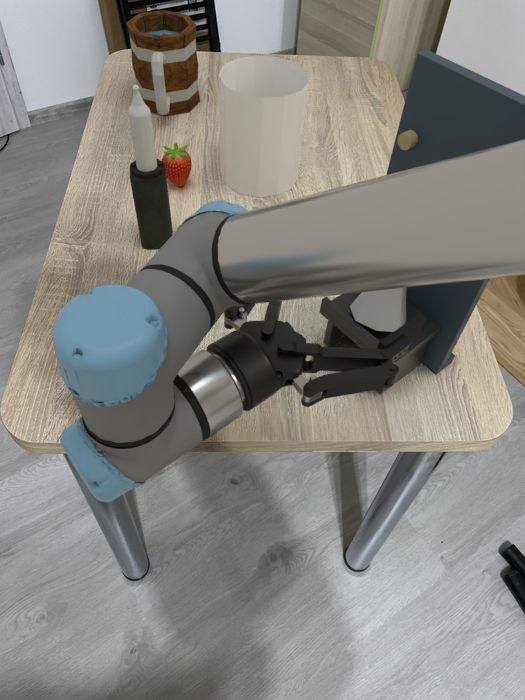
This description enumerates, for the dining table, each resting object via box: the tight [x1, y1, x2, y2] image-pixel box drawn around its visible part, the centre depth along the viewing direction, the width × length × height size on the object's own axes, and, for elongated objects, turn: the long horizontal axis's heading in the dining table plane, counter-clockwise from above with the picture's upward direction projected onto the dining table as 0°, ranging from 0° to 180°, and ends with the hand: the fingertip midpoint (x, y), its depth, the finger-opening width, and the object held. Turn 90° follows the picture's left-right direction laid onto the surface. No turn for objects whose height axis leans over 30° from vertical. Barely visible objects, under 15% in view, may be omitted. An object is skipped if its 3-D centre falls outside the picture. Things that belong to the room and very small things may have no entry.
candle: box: [127, 84, 174, 250], centre depth 78 cm, size 5×5×25 cm
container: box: [218, 54, 310, 198], centre depth 93 cm, size 14×14×18 cm
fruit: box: [161, 141, 193, 187], centre depth 94 cm, size 5×5×8 cm
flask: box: [350, 288, 407, 332], centre depth 64 cm, size 7×7×10 cm
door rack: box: [319, 49, 525, 395], centre depth 61 cm, size 14×16×36 cm
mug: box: [125, 9, 201, 117], centre depth 108 cm, size 20×14×15 cm
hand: (374, 287), depth 61 cm, fingers open, 13 cm apart
